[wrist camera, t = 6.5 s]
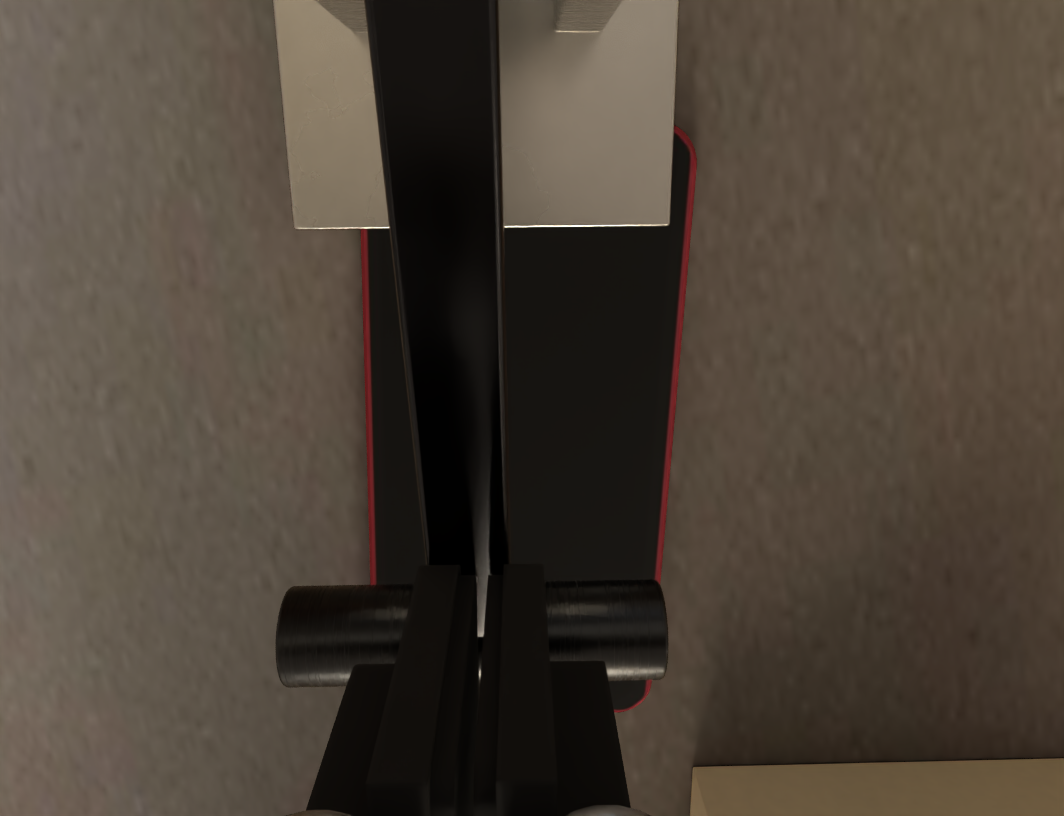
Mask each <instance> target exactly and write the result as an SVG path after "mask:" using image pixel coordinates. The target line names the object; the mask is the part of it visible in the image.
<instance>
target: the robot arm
mask: <svg viewBox="0 0 1064 816" xmlns="http://www.w3.org/2000/svg"><path fill="white" fill-rule="evenodd" d="M286 816H651V815H649V814H647V813H645V812H643V811H641V810H637V809H633V808H631V806H630V801H629V795H628V789H627V784H626V778H625V772H624V766H623V761H622V755H621V749H620V743H619V738H618V732H617V726H616V721H615V715H614V709H613V703H612V698H611V692H610V686H609V681H608V675H607V669H606V665H605V662H604V661H550V659H549V643H548V628H547V612H546V596H545V580H544V565H543V564H504V571H503V575H488V581H487V595H486V609H485V623H484V636H483V650H482V664H481V678H480V692H479V659H478V625H477V590H476V576H475V575H461V567H460V565H420V566H419V568H418V572H417V576H416V580H415V584H414V588H413V592H412V596H411V601H410V605H409V609H408V613H407V617H406V621H405V625H404V629H403V633H402V637H401V641H400V645H399V650H398V654H397V658H396V662H395V664H357V665H355V666H354V667H353V669H352V672H351V674H350V677H349V680H348V683H347V686H346V689H345V692H344V695H343V698H342V701H341V704H340V707H339V710H338V714H337V717H336V720H335V723H334V726H333V729H332V732H331V735H330V738H329V741H328V744H327V747H326V750H325V753H324V756H323V759H322V762H321V766H320V769H319V772H318V775H317V778H316V781H315V784H314V787H313V790H312V793H311V796H310V799H309V802H308V805H307V808H306V811H302V812H298V813H294V814H290V815H286Z"/></svg>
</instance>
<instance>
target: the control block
mask: <svg viewBox="0 0 1064 816" xmlns="http://www.w3.org/2000/svg"><path fill="white" fill-rule="evenodd" d="M690 816H1064V758H1054V759H1011V760H968V761H926V762H883V763H840V764H798V765H755V766H712V767H693V774H692V791H691V807H690Z"/></svg>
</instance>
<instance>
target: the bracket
mask: <svg viewBox="0 0 1064 816" xmlns="http://www.w3.org/2000/svg"><path fill="white" fill-rule="evenodd" d="M273 11H274V22H275V33H276V44H277V55H278V65H279V76H280V87H281V98H282V109H283V120H284V130H285V141H286V152H287V163H288V174H289V184H290V195H291V206H292V217H293V227H294V229H296V230H349V229H389V222H388V213H387V204H386V194H385V185H384V176H383V167H382V158H381V149H380V140H379V131H378V122H377V113H376V104H375V95H374V86H373V76H372V67H371V58H370V49H369V40H368V31H367V22H366V13H365V4H364V0H273ZM678 23H679V0H500V47H501V95H502V143H503V191H504V228H562V227H667V226H669V224H670V214H671V190H672V166H673V142H674V118H675V94H676V71H677V47H678Z"/></svg>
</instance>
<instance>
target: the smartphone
mask: <svg viewBox="0 0 1064 816" xmlns="http://www.w3.org/2000/svg"><path fill="white" fill-rule="evenodd" d="M696 168H697V158H696V153H695V149H694V147H693V144H692V142H691V140H690V139H689V137H688V136H687V135H686V134H685V133H684V132H683V131H682V130H681V129H680V128H678V127H677V126H675V125H674V142H673V166H672V190H671V214H670V224H669V226H667V227H562V228H504V239H505V287H506V335H507V383H508V431H509V479H510V527H511V564H543V565H544V580H545V582H548V581H602V580H657V581H658V582H659V584H660V580H661V568H662V557H663V546H664V534H665V523H666V511H667V500H668V488H669V477H670V466H671V454H672V443H673V431H674V420H675V408H676V397H677V386H678V374H679V363H680V351H681V340H682V328H683V317H684V306H685V294H686V283H687V271H688V260H689V248H690V237H691V226H692V214H693V203H694V191H695V180H696ZM361 261H362V297H363V333H364V369H365V405H366V441H367V476H368V512H369V548H370V584H371V585H386V584H415V580H416V576H417V572H418V568H419V566H420V565H426V557H425V548H424V539H423V530H422V521H421V512H420V503H419V494H418V485H417V476H416V467H415V458H414V449H413V439H412V430H411V421H410V412H409V403H408V394H407V385H406V376H405V367H404V358H403V349H402V340H401V331H400V322H399V312H398V303H397V294H396V285H395V276H394V267H393V258H392V249H391V240H390V231H389V229H361ZM651 683H652V680H619V681H609V686H610V692H611V698H612V703H613V709H614V712H624V711H627V710H629V709H632V708H634V707H636V706H637V705H639V704H640V703H641V702H642V701H643V700H644V699H645V698H646V696H647V695H648V693H649V691H650V688H651ZM479 692H480V683H479Z"/></svg>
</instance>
